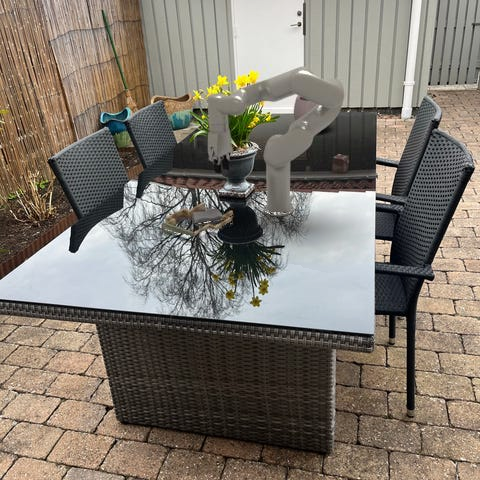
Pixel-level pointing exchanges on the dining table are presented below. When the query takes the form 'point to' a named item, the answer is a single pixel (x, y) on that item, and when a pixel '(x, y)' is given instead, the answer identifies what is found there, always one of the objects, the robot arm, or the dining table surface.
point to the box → (340, 163)
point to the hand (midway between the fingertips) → (222, 170)
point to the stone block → (206, 217)
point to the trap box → (185, 214)
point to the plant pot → (302, 107)
